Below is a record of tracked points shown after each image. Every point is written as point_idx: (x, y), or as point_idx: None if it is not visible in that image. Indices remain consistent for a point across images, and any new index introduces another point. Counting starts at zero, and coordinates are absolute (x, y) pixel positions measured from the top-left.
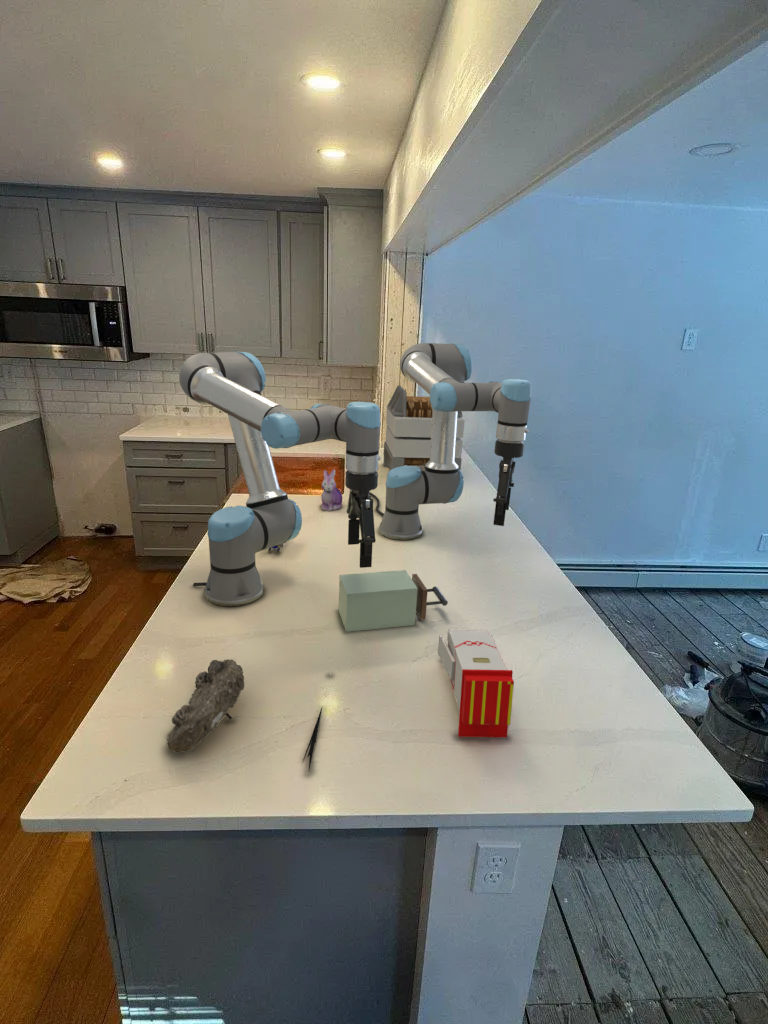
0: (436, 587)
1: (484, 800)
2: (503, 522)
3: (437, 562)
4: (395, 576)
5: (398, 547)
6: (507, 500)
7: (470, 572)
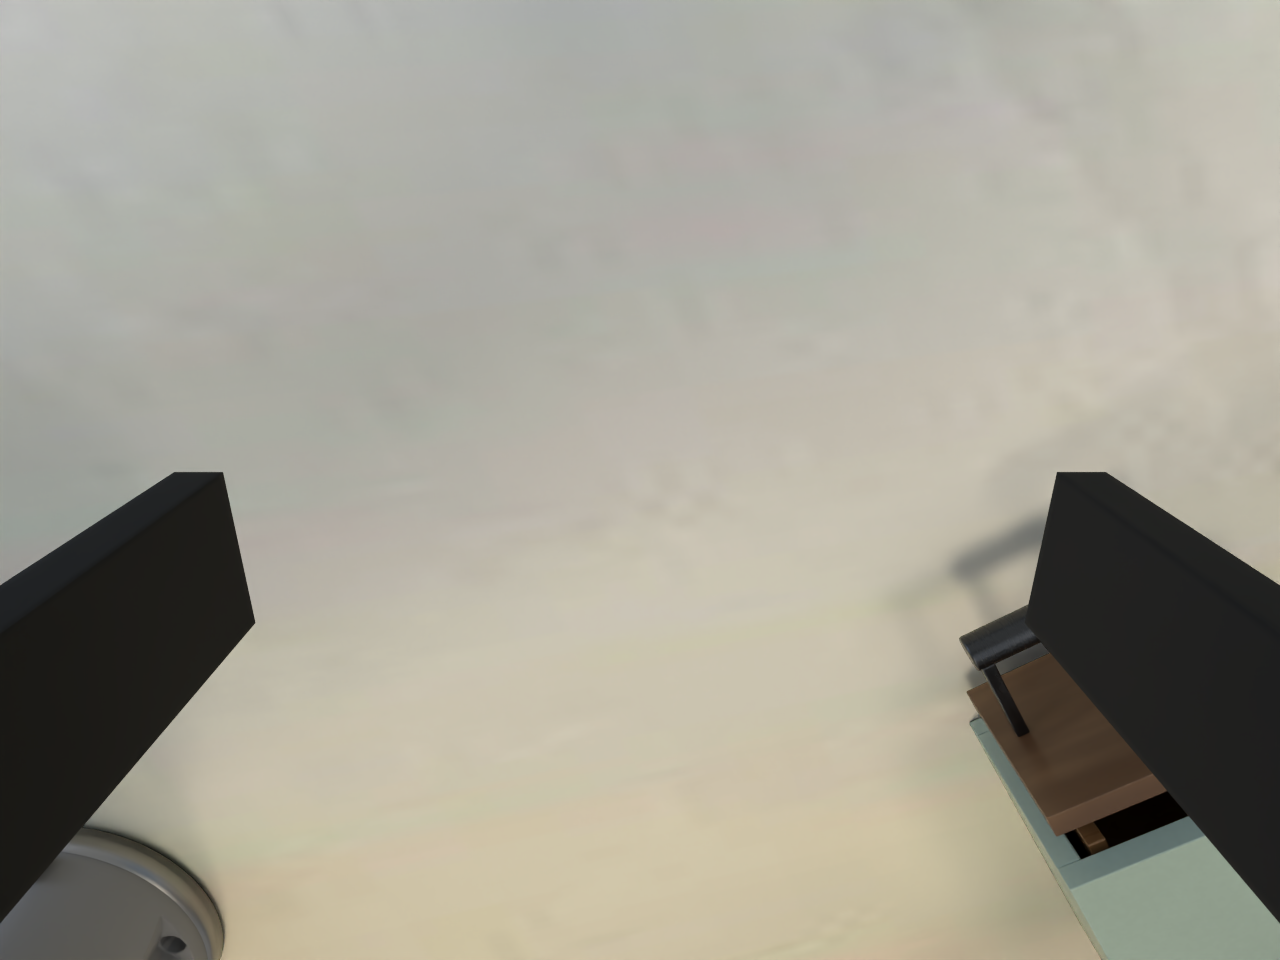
0: (988, 654)
1: None
2: (1142, 508)
3: (393, 675)
4: (1174, 915)
5: (308, 882)
6: (117, 597)
7: (436, 479)
